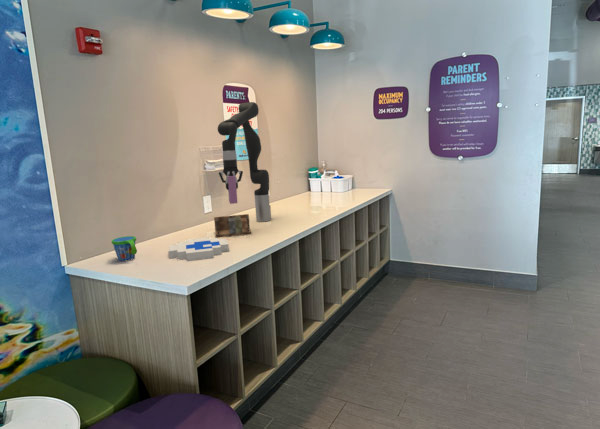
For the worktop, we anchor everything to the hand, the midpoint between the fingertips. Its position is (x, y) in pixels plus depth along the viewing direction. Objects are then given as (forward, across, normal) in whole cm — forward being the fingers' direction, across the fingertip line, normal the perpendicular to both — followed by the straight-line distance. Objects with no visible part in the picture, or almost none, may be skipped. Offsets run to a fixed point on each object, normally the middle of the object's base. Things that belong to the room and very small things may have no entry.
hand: (232, 189), depth 236 cm
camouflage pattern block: (+26, +1, -2) cm, 26 cm away
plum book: (+7, 0, 0) cm, 7 cm away
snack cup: (+27, +54, +30) cm, 67 cm away
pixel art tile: (+27, +20, +31) cm, 45 cm away
